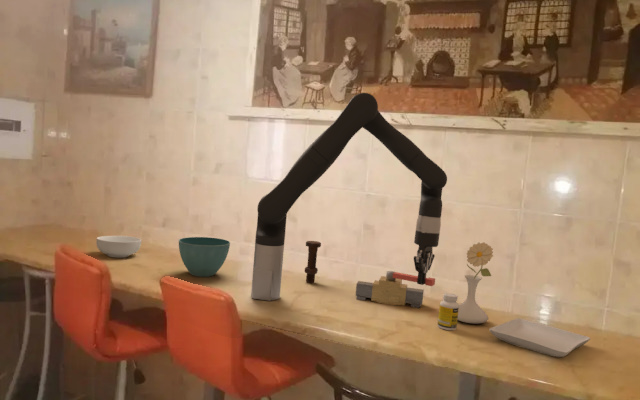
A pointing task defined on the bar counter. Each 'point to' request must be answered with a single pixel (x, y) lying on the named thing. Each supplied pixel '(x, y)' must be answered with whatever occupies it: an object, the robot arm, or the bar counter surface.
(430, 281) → the lever
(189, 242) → the teal bowl
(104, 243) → the cereal bowl
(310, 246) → the bolt
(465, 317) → the flower in vase
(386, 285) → the pipe and valve
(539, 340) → the salad plate
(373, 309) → the bar counter surface
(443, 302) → the supplement bottle
